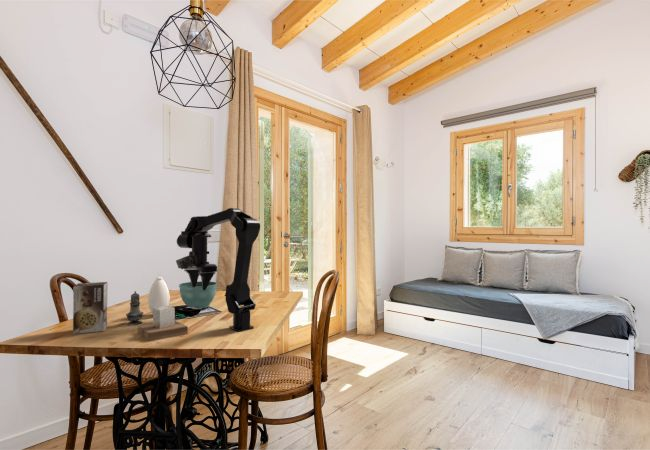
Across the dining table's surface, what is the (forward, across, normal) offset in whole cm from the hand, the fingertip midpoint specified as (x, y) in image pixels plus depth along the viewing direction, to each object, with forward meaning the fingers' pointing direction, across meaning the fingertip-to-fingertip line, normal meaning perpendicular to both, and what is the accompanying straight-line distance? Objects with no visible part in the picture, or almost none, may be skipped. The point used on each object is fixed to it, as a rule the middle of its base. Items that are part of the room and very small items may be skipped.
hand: (198, 288), depth 139 cm
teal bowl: (+12, -20, +9) cm, 25 cm away
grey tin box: (+10, +10, -17) cm, 22 cm away
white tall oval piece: (+12, -17, -9) cm, 23 cm away
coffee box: (+12, -10, -34) cm, 37 cm away
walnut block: (+13, +10, -17) cm, 23 cm away
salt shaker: (+12, -10, -20) cm, 25 cm away
